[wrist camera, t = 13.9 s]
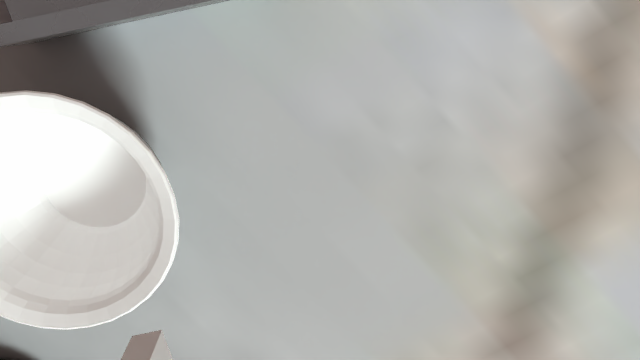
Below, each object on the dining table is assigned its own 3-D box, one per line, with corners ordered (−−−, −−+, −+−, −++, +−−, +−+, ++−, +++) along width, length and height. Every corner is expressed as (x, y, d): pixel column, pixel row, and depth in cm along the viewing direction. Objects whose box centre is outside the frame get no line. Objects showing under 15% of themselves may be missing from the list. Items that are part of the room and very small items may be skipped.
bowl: (45, 27, 35) (-29, 33, 27) (239, 150, 38) (226, 187, 30) (-45, 203, 38) (-134, 255, 30) (140, 299, 42) (105, 368, 34)
